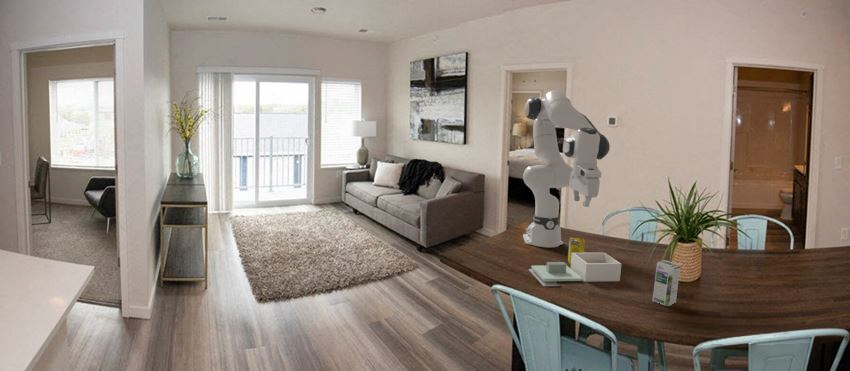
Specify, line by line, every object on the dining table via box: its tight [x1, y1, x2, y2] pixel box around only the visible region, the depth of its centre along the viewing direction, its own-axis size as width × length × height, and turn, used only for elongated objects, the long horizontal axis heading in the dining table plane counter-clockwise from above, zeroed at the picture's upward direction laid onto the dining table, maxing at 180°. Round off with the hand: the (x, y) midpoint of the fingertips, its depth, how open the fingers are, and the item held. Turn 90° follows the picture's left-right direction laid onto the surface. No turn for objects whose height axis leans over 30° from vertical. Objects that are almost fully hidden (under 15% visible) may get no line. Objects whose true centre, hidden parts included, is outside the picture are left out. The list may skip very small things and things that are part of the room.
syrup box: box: [651, 259, 682, 307], centre depth 167 cm, size 6×6×14 cm
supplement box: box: [567, 237, 586, 265], centre depth 206 cm, size 6×6×11 cm
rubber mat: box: [528, 268, 562, 287], centre depth 190 cm, size 18×16×1 cm
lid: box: [530, 261, 583, 282], centre depth 189 cm, size 15×15×6 cm
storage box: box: [569, 251, 622, 283], centre depth 191 cm, size 14×14×8 cm
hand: (581, 203), depth 192 cm, fingers open, 8 cm apart
